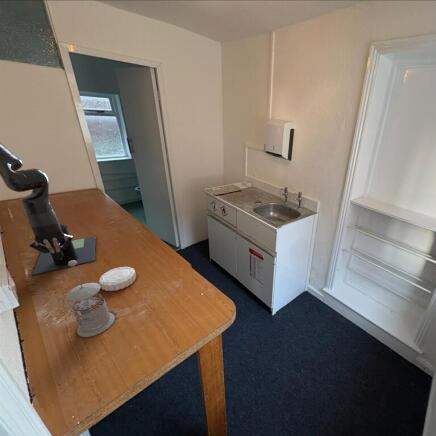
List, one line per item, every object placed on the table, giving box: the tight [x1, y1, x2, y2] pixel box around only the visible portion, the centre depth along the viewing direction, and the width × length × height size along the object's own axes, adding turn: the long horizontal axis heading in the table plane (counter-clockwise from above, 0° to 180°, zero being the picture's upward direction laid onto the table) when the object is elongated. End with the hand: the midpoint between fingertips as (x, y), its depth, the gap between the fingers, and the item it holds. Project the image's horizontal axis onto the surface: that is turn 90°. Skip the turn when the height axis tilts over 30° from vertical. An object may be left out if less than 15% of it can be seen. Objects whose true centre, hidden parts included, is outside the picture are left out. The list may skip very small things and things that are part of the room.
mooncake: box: [98, 266, 137, 292], centre depth 94 cm, size 12×12×4 cm
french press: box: [61, 260, 116, 338], centre depth 71 cm, size 10×12×25 cm
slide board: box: [32, 236, 96, 276], centre depth 110 cm, size 20×26×1 cm
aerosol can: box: [51, 223, 78, 265], centre depth 100 cm, size 8×8×20 cm
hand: (59, 259), depth 96 cm, fingers closed
